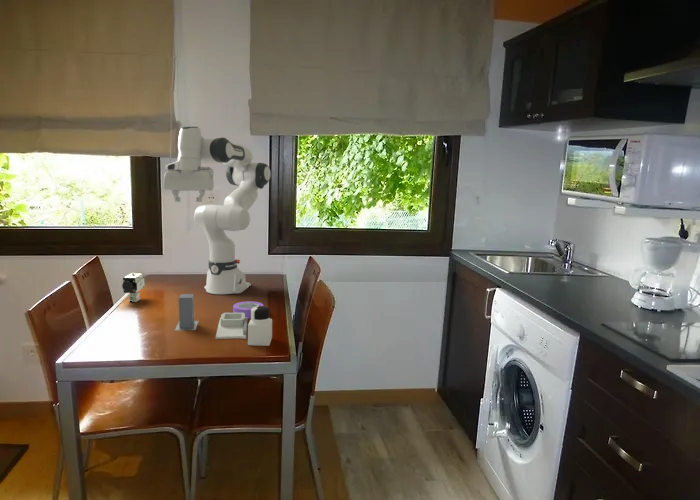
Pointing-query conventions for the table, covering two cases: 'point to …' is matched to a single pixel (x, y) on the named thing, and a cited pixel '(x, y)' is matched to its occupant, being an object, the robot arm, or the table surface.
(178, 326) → the grey rectangular plate
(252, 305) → the masking tape
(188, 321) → the clip
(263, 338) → the medicine bottle
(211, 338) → the table surface
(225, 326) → the holder
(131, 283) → the pneumatic valve
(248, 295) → the table surface
